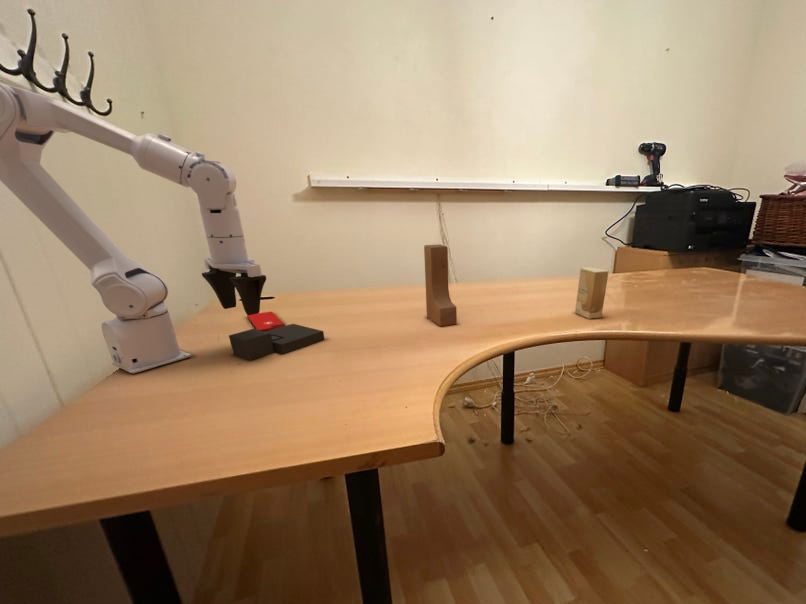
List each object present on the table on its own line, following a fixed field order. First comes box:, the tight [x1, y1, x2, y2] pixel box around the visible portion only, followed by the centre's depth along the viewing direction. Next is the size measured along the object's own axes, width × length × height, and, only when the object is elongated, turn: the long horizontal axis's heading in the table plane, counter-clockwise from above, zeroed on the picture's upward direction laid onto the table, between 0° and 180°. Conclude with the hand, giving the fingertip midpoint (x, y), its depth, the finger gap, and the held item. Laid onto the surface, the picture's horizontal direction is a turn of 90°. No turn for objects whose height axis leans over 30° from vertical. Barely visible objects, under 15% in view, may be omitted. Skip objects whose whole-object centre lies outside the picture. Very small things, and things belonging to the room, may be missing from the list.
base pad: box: [264, 323, 325, 355], centre depth 84 cm, size 10×10×2 cm
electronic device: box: [246, 311, 286, 332], centre depth 97 cm, size 6×1×15 cm
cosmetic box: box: [574, 266, 609, 320], centre depth 104 cm, size 6×4×12 cm
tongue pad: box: [228, 328, 281, 361], centre depth 79 cm, size 8×6×4 cm
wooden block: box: [423, 244, 458, 327], centre depth 97 cm, size 9×4×18 cm, turn 28°
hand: (241, 310), depth 76 cm, fingers open, 7 cm apart
